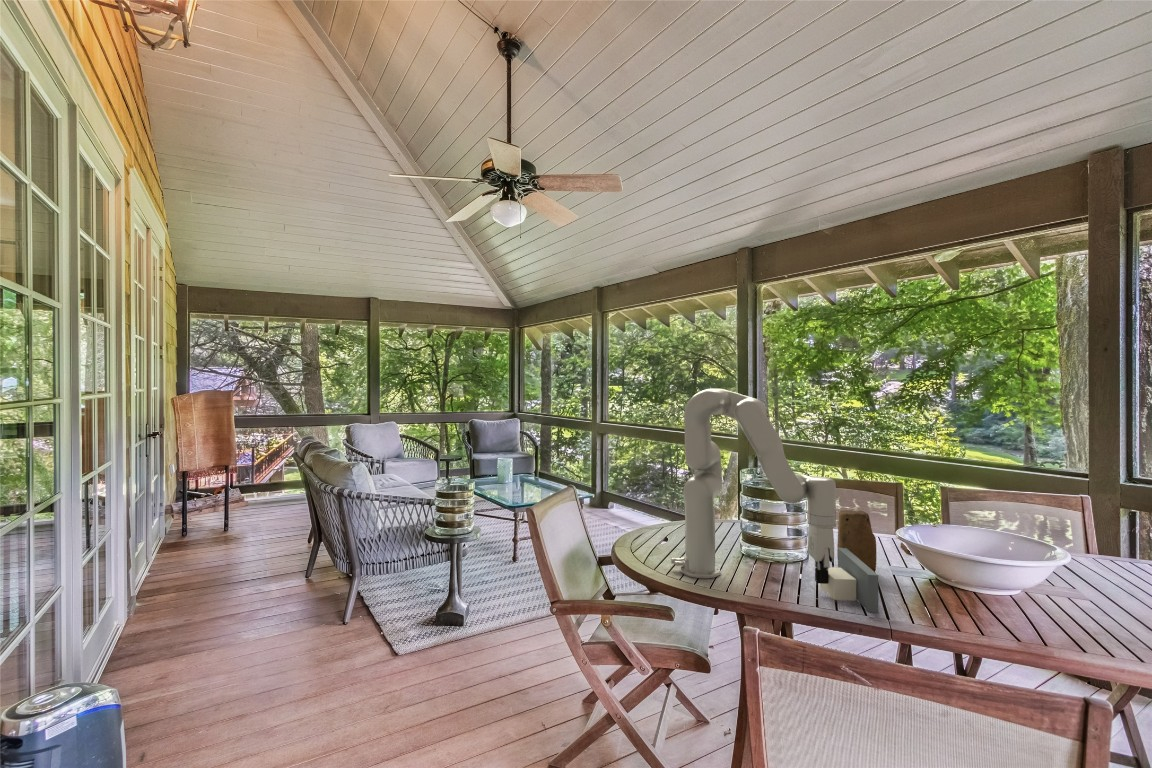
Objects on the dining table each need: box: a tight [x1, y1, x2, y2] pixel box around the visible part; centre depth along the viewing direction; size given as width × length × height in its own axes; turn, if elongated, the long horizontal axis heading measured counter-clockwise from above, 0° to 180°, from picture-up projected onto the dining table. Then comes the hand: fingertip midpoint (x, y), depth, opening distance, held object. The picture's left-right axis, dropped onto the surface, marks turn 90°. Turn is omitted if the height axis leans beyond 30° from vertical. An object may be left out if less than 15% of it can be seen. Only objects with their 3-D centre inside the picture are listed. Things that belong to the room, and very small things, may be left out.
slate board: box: [837, 548, 879, 614], centre depth 155 cm, size 2×24×10 cm, turn 172°
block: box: [836, 509, 877, 573], centre depth 173 cm, size 11×8×20 cm
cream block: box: [819, 566, 857, 602], centre depth 157 cm, size 6×10×6 cm, turn 177°
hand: (821, 582), depth 157 cm, fingers closed
